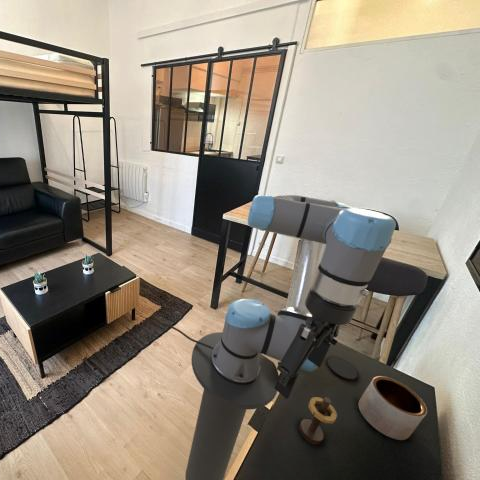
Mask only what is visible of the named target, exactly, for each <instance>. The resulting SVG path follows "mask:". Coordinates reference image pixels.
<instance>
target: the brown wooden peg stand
mask: <svg viewBox="0 0 480 480" xmlns="http://www.w3.org/2000/svg"><path fill="white" fill-rule="evenodd" d="M322 399H323V401H322V403H321V404H315V405H314V406H315V407H316V409H317V411H318V412H319V413H321V414H322V415H323V416H329V417H330V416H331V414H330V413H329V411H328V407H329V405H330V404H332V400H331V399H330V398H329V397H327V396H324V397H323V398H322ZM310 413H311V415H312V416H313V419H309V418H304V419H302V421H301V422H300V424H299V426H298V429H299V433H300V434H301V436H302V438H304V440H305V441H307V442H308V443H310V444H311V445H315V446H316V445H317V446H318V445H321V443H322V442H323V440H324V437H325V436H324V435H325V434H324V431H323V429H322V428H321V426H320V424H321V423H322V424H325V425H328V424H329V423H324V421H323V422H321V421H320V420H319V419H317V418H316V417H315V416H314V415H313V414H312V412H311V411H310Z"/></svg>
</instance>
